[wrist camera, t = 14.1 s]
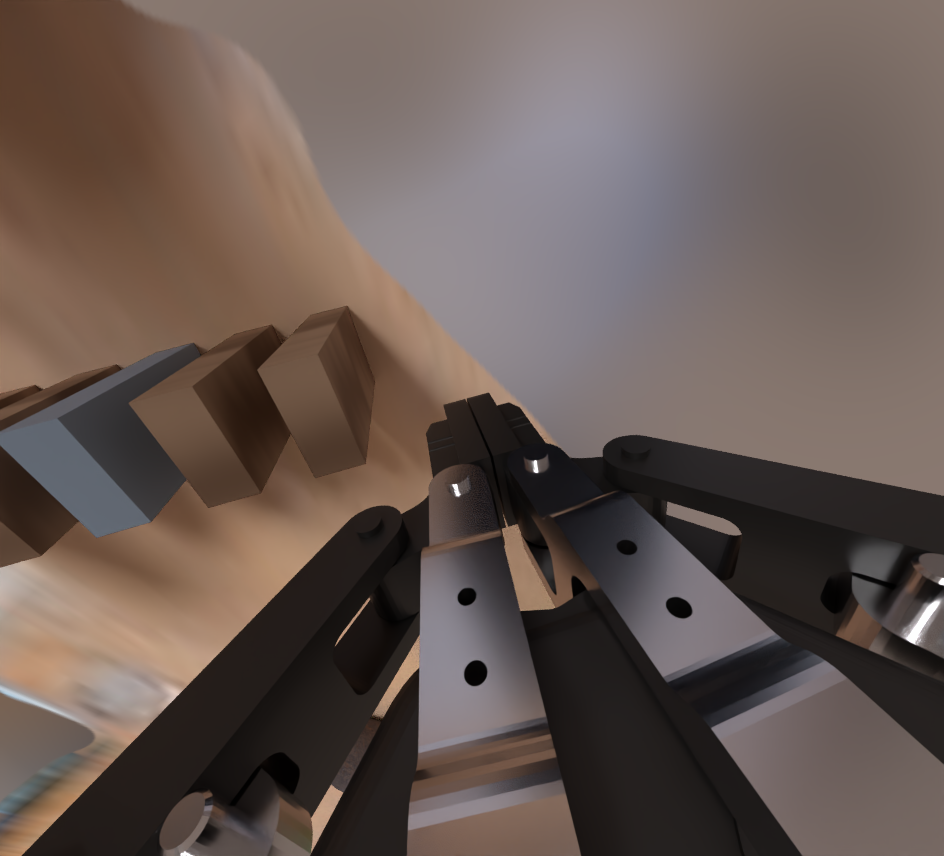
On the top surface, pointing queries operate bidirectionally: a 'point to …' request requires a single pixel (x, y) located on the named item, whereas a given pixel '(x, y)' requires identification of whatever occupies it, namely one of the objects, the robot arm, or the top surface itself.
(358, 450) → the domino
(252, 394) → the domino
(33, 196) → the top surface
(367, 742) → the perforated stone tool
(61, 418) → the domino
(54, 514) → the domino
